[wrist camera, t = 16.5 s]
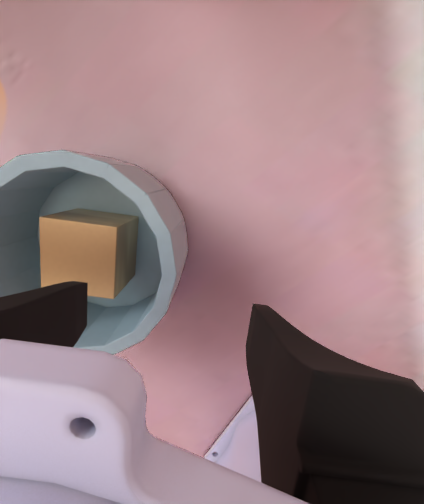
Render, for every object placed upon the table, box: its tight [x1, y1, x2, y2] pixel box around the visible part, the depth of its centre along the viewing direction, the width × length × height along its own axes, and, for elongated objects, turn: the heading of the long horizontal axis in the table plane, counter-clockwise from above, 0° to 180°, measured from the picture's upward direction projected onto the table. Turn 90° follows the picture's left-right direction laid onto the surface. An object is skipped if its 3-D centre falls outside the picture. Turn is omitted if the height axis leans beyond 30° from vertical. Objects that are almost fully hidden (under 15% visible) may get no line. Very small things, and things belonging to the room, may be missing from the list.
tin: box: [0, 150, 188, 355], centre depth 19 cm, size 12×12×6 cm
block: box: [39, 208, 139, 299], centre depth 19 cm, size 4×4×4 cm
